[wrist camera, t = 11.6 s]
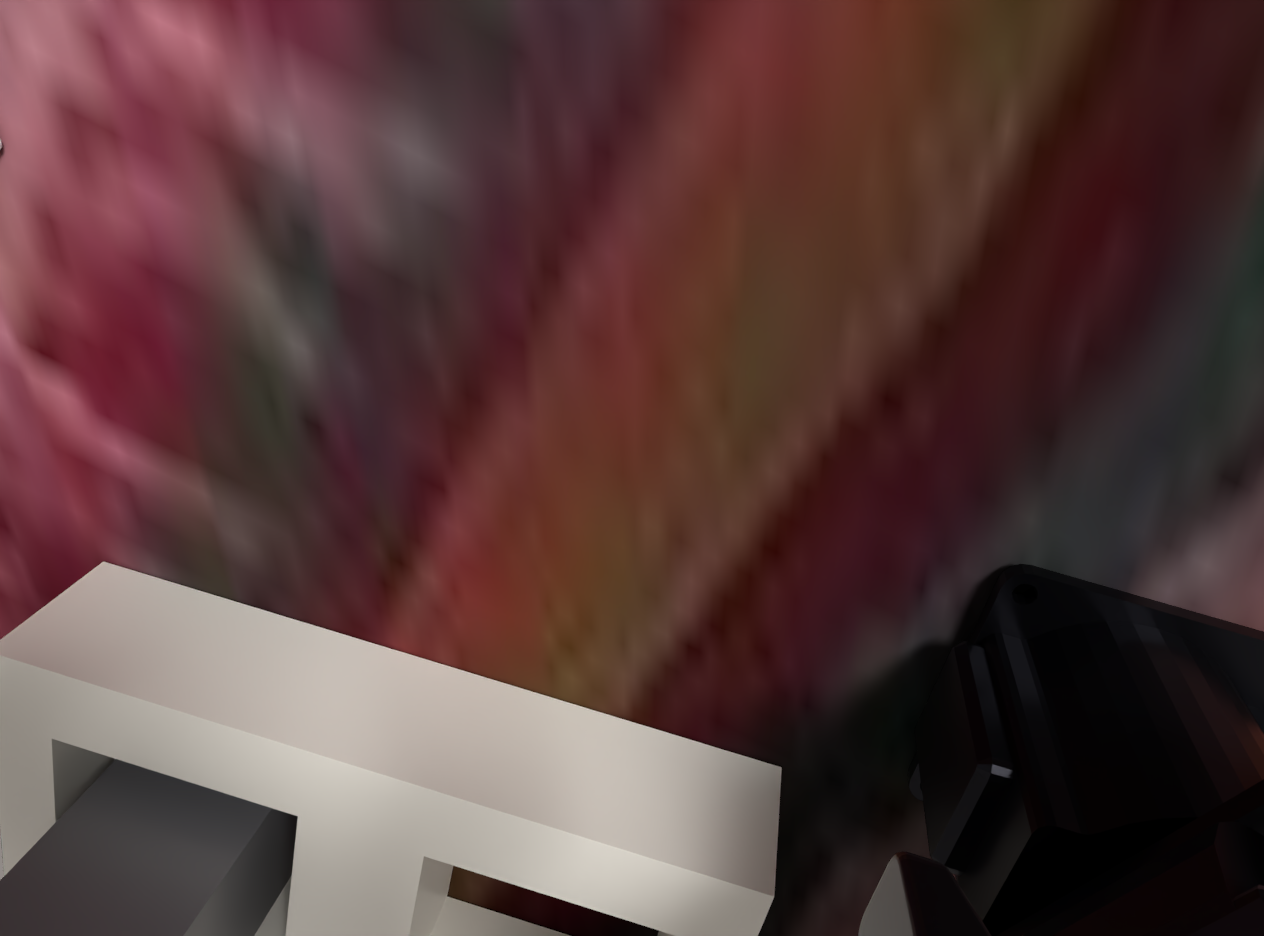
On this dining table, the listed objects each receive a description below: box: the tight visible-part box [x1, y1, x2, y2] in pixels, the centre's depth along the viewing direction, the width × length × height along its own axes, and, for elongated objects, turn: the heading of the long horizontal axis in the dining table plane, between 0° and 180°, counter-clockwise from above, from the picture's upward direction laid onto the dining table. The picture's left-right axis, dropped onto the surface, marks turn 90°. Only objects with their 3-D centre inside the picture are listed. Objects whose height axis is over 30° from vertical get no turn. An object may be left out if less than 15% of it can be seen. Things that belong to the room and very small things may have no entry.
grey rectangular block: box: [0, 759, 298, 936], centre depth 23 cm, size 4×4×11 cm
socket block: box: [0, 561, 782, 936], centre depth 26 cm, size 18×12×4 cm, turn 77°
